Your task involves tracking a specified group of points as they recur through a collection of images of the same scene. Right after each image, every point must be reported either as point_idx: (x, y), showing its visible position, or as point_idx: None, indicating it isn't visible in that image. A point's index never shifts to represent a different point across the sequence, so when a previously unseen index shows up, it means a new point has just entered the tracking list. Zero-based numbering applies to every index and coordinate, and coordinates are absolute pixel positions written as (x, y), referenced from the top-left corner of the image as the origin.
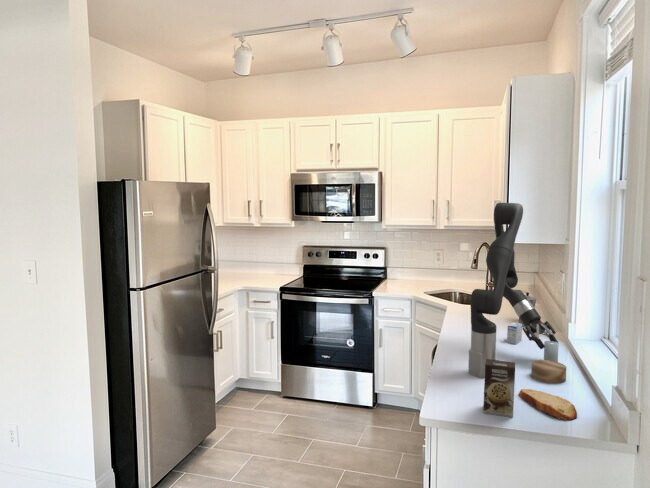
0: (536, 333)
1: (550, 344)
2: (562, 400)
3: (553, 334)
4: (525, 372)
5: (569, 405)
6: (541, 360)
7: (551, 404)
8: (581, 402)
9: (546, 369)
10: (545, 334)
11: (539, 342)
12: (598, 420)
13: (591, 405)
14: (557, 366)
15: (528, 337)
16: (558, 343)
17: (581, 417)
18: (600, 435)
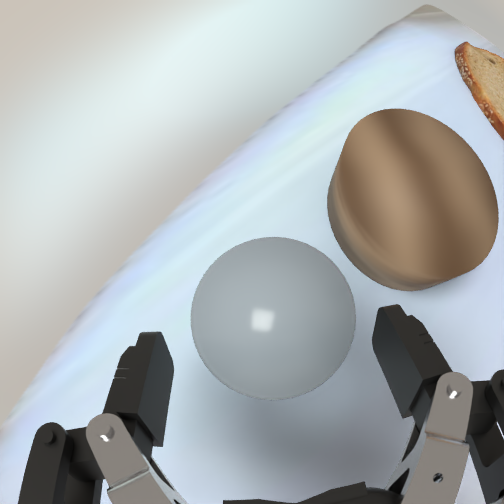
0: (460, 441)
1: (339, 271)
2: (474, 66)
3: (102, 420)
4: (456, 306)
5: (472, 48)
6: (423, 260)
7: (500, 75)
8: (416, 57)
9: (469, 150)
10: (177, 495)
11: (429, 347)
12: (427, 24)
13: (402, 42)
14: (399, 147)
15: (499, 432)
16: (216, 261)
17: (452, 42)
18: (450, 18)
